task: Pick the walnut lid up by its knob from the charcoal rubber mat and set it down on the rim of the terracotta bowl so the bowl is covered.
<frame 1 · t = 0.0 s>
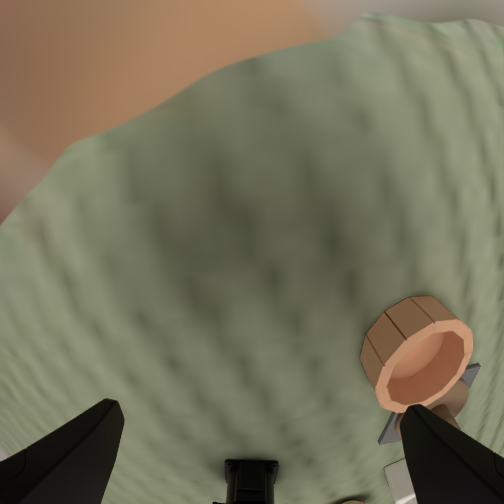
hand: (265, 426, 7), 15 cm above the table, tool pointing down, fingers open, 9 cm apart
lid: (431, 408, 25), point 1 cm above the table, touching mat
bowl: (407, 343, 23), on the table
egg: (347, 501, 33), on the table
mat: (429, 405, 26), on the table
white boxy piece: (406, 464, 30), on the table
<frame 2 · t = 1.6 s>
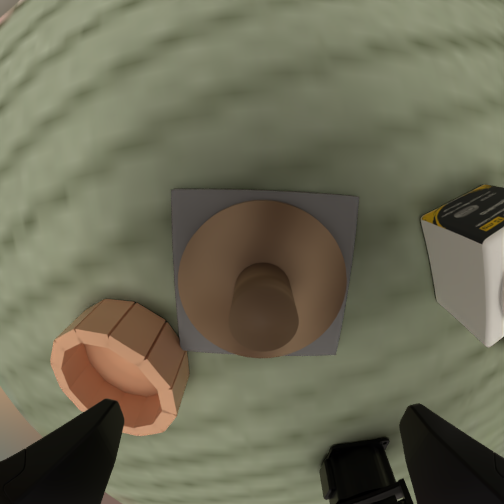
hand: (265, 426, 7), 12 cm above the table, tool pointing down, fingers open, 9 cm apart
lid: (262, 282, 18), point 1 cm above the table, touching mat
bowl: (130, 354, 20), on the table
mat: (262, 278, 18), on the table
white boxy piece: (461, 242, 18), on the table
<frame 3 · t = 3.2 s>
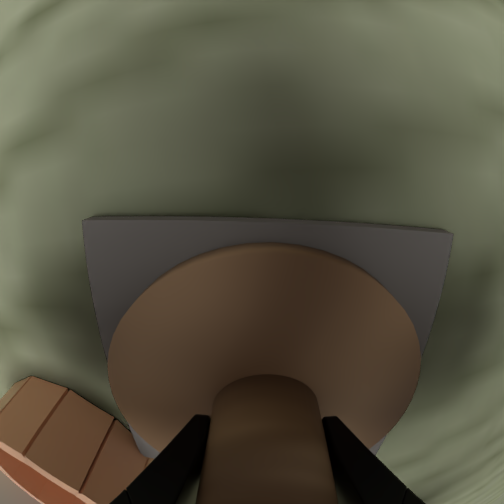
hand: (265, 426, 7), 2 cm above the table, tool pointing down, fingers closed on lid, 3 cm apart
lid: (265, 390, 9), point 1 cm above the table, touching gripper, mat
bowl: (79, 441, 11), on the table
mat: (264, 379, 9), on the table
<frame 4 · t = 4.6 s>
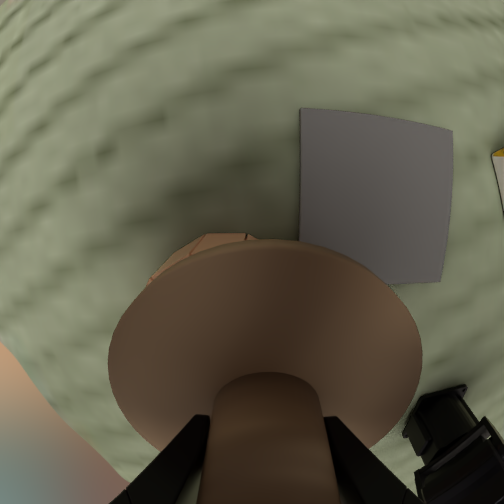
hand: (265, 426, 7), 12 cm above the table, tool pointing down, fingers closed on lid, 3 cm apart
lid: (266, 388, 9), point 10 cm above the table, touching gripper
bowl: (228, 303, 19), on the table
mat: (382, 201, 17), on the table
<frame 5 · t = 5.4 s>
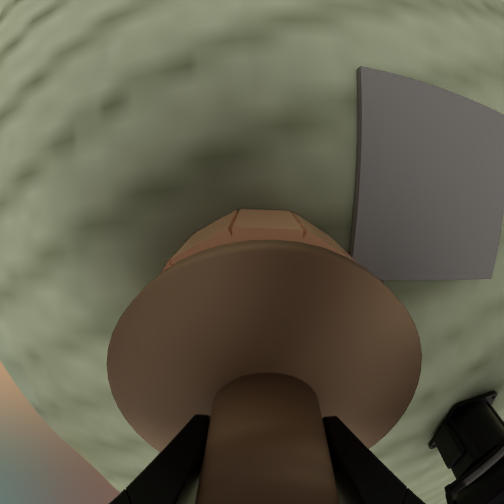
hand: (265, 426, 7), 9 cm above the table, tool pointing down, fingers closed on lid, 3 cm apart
lid: (265, 389, 9), point 7 cm above the table, touching gripper
bowl: (260, 300, 15), on the table
mat: (442, 183, 13), on the table
when the fingers open (7 cm above the table, at t = 5.9 s): lid drops 1 cm, resting on bowl.
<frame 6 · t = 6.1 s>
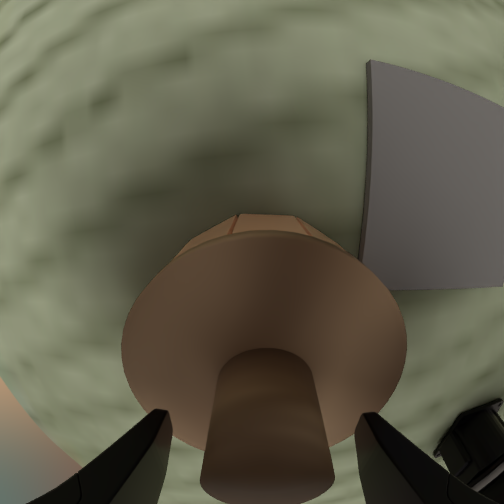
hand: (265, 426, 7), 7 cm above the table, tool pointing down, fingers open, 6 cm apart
lid: (265, 367, 10), point 4 cm above the table, touching bowl
bowl: (262, 311, 14), on the table
mat: (455, 186, 12), on the table
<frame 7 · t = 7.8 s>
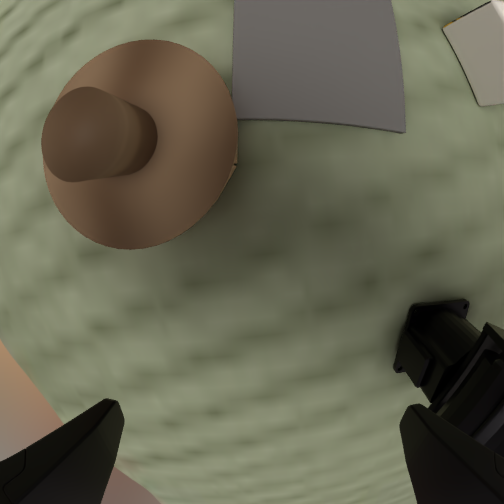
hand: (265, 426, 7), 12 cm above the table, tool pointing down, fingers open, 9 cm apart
lid: (132, 141, 12), point 4 cm above the table, touching bowl
mat: (320, 45, 15), on the table
white boxy piece: (481, 62, 14), on the table
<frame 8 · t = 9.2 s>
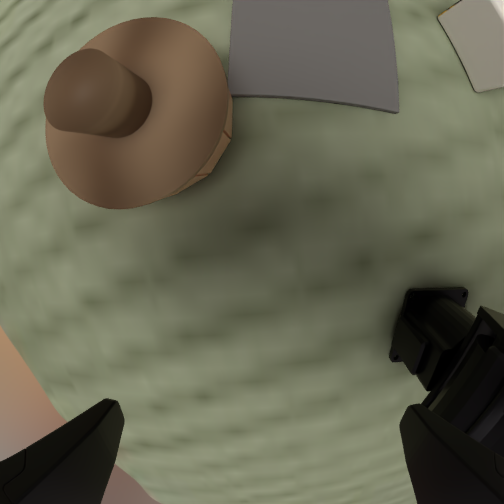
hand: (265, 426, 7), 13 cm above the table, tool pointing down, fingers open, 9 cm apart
lid: (130, 109, 12), point 4 cm above the table, touching bowl
bowl: (158, 122, 17), on the table
mat: (315, 29, 15), on the table
white boxy piece: (478, 51, 14), on the table
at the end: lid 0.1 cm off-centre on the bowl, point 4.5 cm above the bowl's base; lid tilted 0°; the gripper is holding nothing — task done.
